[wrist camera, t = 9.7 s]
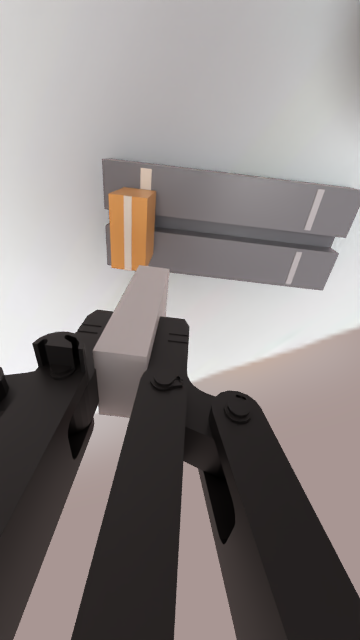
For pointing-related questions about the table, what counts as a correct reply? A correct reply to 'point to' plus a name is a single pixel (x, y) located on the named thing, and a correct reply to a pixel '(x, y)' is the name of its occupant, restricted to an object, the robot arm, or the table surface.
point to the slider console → (239, 223)
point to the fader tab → (131, 227)
